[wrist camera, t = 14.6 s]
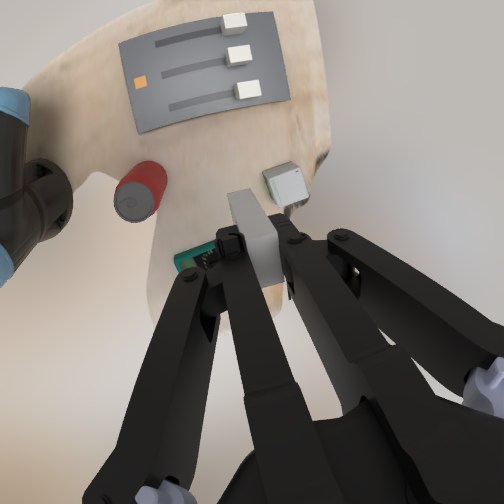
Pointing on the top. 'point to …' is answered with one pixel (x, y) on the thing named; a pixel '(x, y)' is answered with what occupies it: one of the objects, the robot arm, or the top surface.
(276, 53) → the breaker panel
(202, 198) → the top surface
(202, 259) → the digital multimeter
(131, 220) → the beer can
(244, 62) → the handle
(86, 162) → the top surface
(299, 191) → the small box
